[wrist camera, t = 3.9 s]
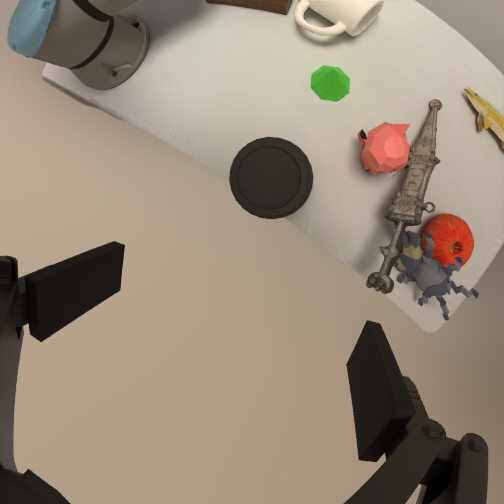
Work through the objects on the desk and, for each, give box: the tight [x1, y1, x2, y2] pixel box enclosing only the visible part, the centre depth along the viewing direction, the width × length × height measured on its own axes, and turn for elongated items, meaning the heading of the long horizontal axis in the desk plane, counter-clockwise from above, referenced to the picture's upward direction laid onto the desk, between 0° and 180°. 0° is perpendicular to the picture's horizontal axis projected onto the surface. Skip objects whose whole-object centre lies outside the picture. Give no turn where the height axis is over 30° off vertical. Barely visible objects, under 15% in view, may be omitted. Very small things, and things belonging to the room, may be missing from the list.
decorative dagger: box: [366, 99, 442, 294], centre depth 33 cm, size 7×2×30 cm
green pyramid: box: [311, 66, 350, 101], centre depth 35 cm, size 6×6×6 cm
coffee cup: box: [229, 137, 313, 219], centre depth 35 cm, size 8×8×15 cm
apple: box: [422, 214, 474, 268], centre depth 36 cm, size 8×8×8 cm
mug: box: [294, 0, 383, 36], centre depth 31 cm, size 12×10×8 cm
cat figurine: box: [358, 122, 416, 181], centre depth 33 cm, size 7×7×12 cm
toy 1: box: [380, 222, 479, 320], centre depth 35 cm, size 15×4×15 cm
